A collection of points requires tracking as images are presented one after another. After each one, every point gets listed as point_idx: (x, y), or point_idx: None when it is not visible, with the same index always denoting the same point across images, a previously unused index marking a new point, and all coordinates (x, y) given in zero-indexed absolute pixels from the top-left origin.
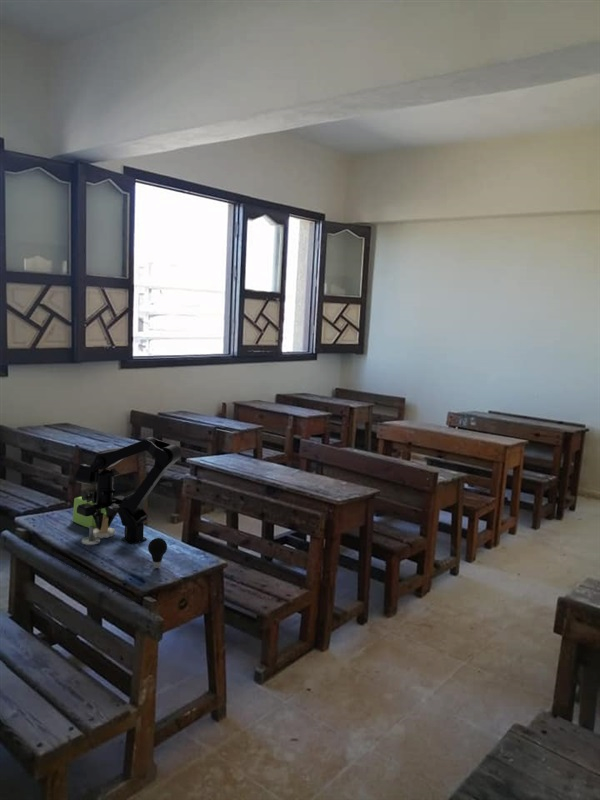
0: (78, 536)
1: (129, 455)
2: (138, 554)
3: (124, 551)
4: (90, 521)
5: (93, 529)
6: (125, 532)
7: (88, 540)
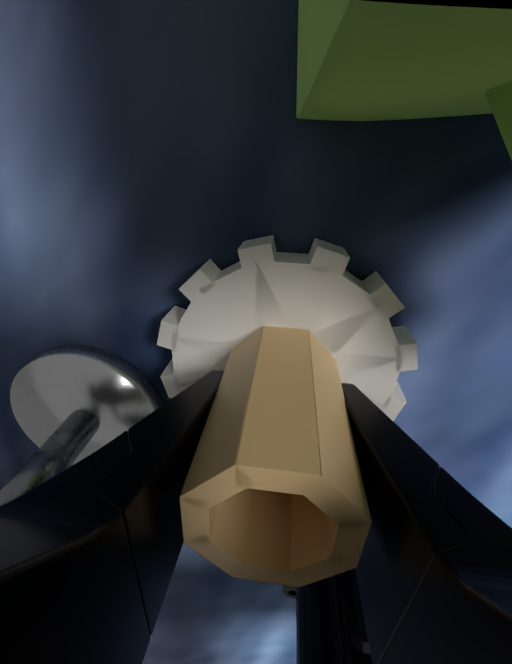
0: (55, 225)
1: None
2: (218, 637)
3: (189, 594)
4: (306, 49)
5: (239, 248)
6: (332, 580)
7: (62, 417)
